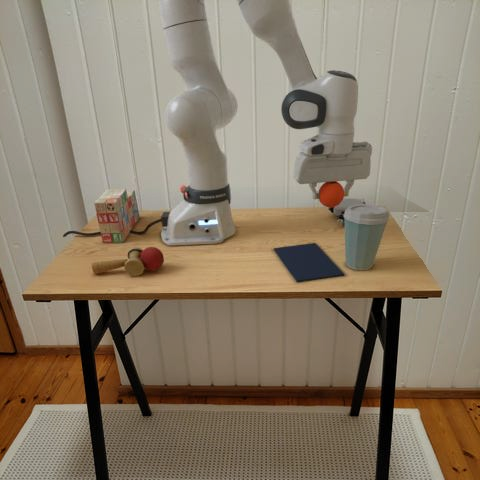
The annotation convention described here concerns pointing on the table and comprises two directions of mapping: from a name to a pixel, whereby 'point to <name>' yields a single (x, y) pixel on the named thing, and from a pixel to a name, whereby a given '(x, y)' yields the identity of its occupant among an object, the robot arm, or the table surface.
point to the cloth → (307, 262)
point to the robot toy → (344, 207)
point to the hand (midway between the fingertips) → (330, 197)
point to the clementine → (331, 194)
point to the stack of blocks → (116, 214)
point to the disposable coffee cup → (363, 234)
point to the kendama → (133, 261)
